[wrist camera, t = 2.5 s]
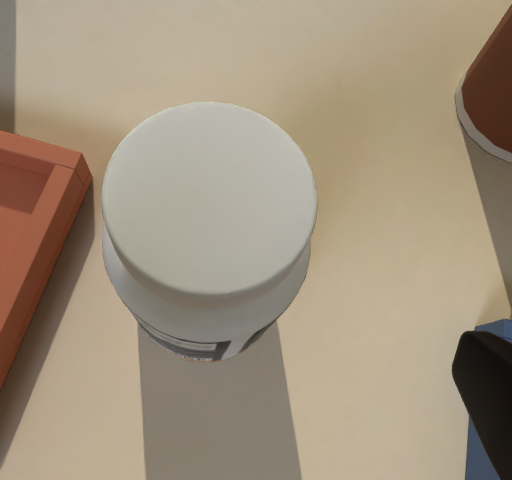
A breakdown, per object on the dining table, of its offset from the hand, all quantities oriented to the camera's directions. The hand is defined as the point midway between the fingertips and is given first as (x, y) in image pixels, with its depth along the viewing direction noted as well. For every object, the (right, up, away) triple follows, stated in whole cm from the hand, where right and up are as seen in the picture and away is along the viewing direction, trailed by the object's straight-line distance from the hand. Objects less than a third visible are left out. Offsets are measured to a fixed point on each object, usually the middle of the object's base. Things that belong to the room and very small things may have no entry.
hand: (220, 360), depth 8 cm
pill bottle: (-2, 0, +11) cm, 11 cm away
